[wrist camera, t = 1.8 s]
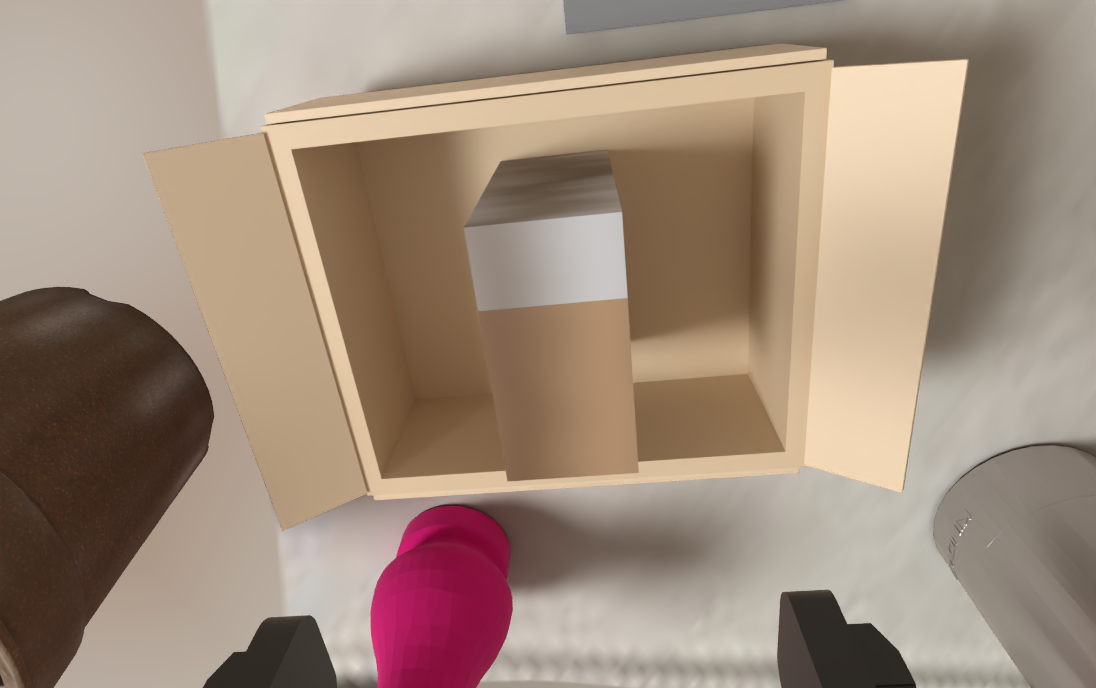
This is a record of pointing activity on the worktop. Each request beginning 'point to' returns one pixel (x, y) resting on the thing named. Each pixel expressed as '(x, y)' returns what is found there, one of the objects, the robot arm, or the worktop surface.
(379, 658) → the pepper mill
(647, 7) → the plate
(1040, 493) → the robot arm
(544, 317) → the block
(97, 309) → the plant pot
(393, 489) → the carton
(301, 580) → the worktop surface
